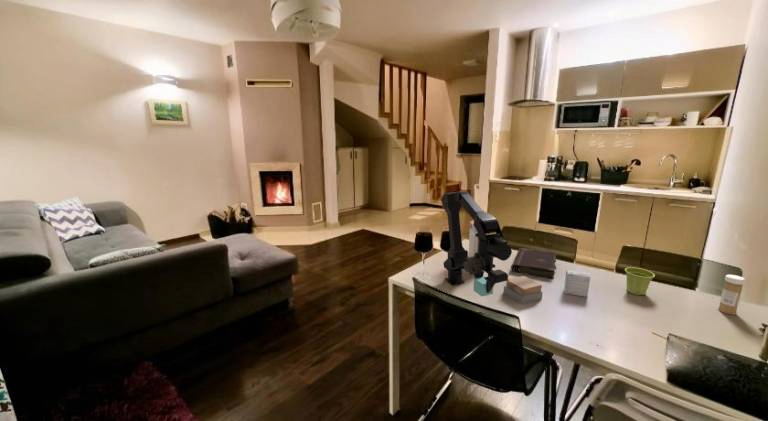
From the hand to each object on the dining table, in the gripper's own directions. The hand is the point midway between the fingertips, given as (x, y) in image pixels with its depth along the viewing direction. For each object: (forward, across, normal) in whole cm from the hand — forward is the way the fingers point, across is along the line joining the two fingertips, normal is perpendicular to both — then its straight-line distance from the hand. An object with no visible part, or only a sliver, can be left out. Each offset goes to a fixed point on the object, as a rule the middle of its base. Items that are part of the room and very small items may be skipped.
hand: (483, 289), depth 121 cm
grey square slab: (+6, +2, +18) cm, 19 cm away
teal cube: (+1, 0, 0) cm, 1 cm away
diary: (+6, -18, +46) cm, 50 cm away
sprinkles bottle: (+6, +40, +75) cm, 85 cm away
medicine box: (+6, +9, +39) cm, 40 cm away
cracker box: (+6, -31, +22) cm, 39 cm away
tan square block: (+2, +2, +18) cm, 18 cm away
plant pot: (+6, +18, +62) cm, 65 cm away
